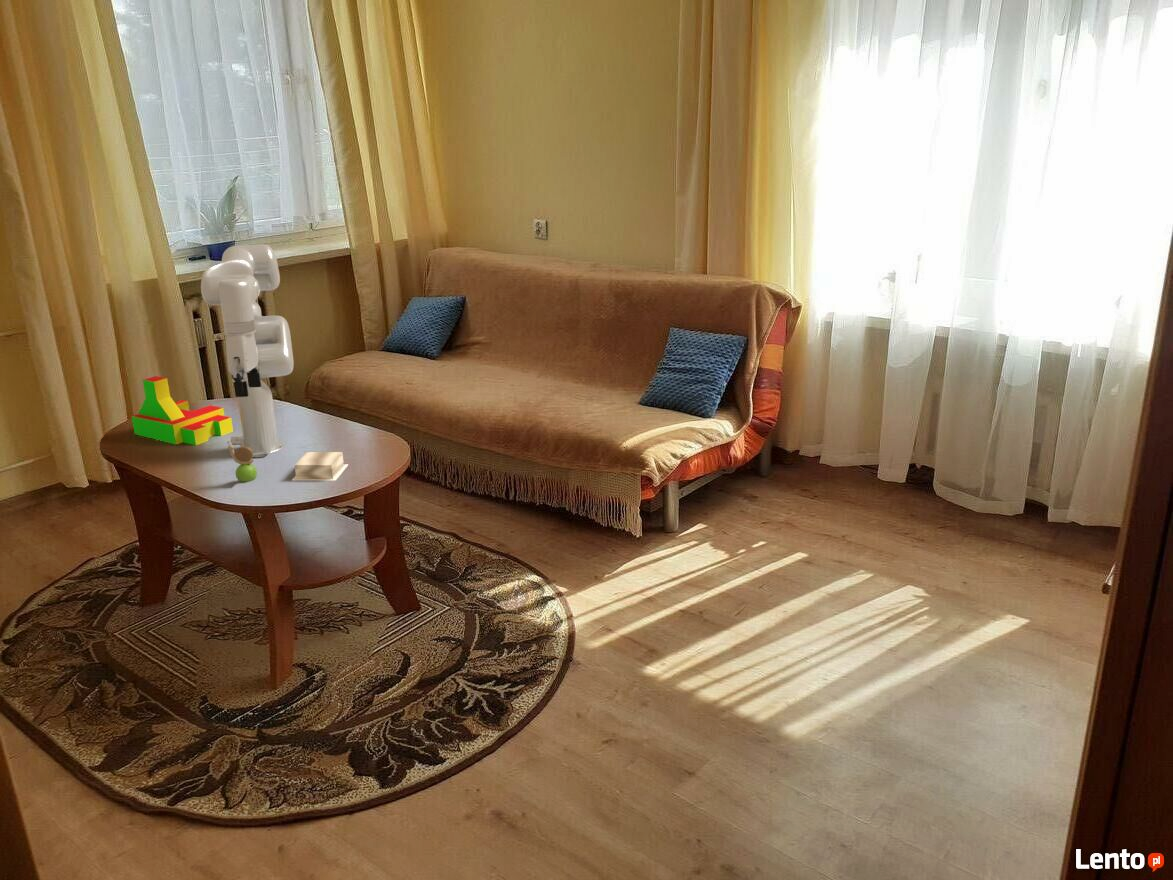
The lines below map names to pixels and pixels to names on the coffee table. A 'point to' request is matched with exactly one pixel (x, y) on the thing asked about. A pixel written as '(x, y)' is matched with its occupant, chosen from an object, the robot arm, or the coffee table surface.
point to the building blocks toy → (177, 417)
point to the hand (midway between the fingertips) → (248, 391)
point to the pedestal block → (319, 465)
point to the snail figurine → (243, 463)
